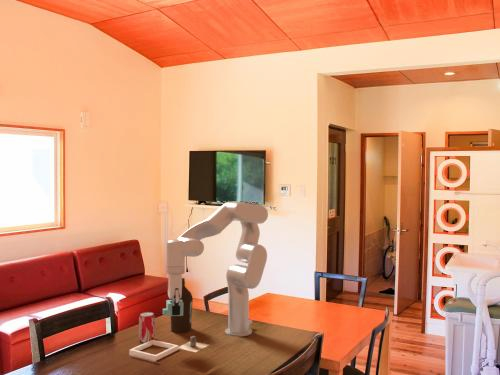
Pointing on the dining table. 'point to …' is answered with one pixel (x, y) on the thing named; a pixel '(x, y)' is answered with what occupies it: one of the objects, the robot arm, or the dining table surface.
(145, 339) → the soda can
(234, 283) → the robot arm
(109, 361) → the dining table surface
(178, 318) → the olive oil
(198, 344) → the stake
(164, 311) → the collar
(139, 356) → the white square frame
